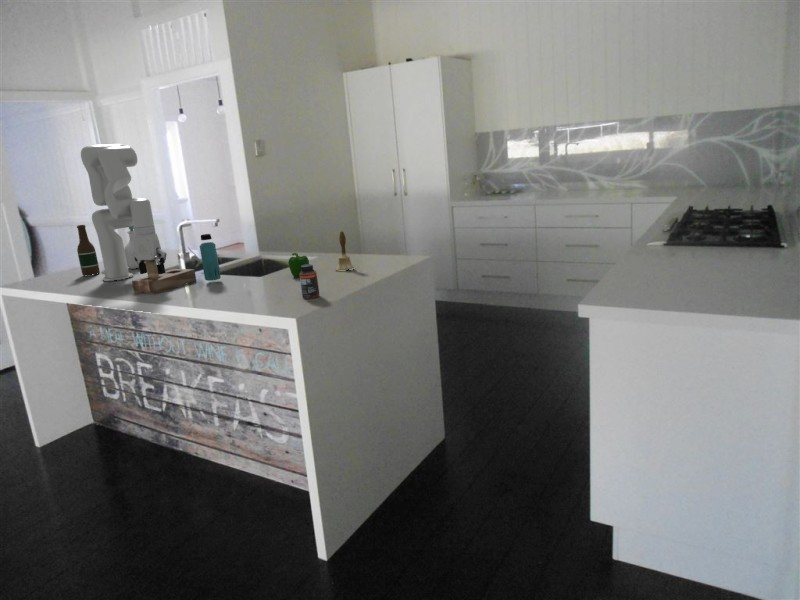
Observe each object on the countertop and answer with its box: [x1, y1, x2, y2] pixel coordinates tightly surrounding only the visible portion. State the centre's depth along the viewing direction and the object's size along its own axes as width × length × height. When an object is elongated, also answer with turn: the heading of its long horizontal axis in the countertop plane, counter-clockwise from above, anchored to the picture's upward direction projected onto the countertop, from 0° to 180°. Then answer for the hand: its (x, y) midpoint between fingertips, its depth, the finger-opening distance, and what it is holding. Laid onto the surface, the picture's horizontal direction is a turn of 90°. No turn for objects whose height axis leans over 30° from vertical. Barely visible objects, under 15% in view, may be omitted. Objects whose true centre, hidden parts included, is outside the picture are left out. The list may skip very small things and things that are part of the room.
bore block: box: [131, 268, 197, 295], centre depth 247 cm, size 12×22×5 cm, turn 156°
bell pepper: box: [288, 252, 310, 278], centre depth 246 cm, size 8×8×10 cm
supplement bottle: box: [299, 263, 320, 300], centre depth 208 cm, size 6×6×11 cm
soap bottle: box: [124, 226, 145, 270], centre depth 297 cm, size 10×10×23 cm
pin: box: [145, 260, 159, 280], centre depth 241 cm, size 4×4×12 cm
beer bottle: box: [76, 224, 101, 276], centre depth 288 cm, size 8×8×24 cm
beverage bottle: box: [199, 233, 221, 282], centre depth 246 cm, size 6×7×20 cm
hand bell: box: [335, 231, 355, 271], centre depth 250 cm, size 8×8×16 cm
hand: (152, 273), depth 241 cm, fingers open, 9 cm apart
